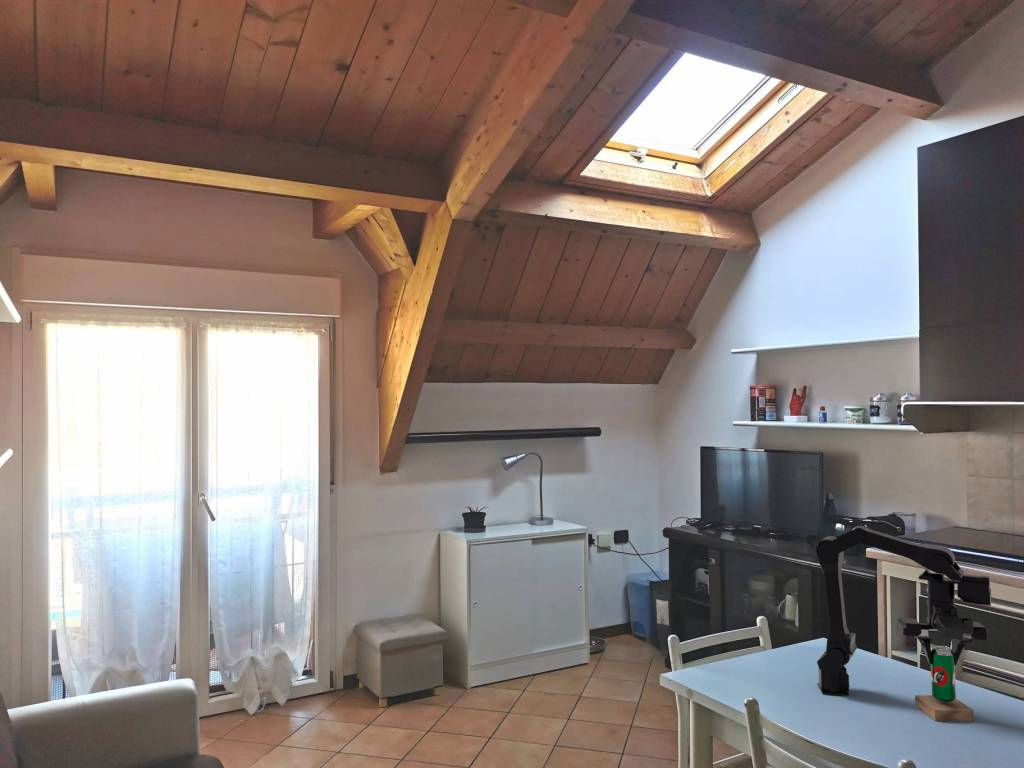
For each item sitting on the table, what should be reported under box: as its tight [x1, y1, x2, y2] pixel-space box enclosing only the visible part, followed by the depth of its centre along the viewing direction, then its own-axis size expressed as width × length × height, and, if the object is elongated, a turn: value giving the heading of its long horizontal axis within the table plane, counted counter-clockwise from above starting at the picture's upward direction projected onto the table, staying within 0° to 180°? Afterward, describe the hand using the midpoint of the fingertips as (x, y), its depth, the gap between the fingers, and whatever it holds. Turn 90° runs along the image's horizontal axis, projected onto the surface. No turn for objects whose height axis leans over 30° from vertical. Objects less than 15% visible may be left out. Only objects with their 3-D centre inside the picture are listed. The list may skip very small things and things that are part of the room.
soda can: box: [930, 645, 957, 702], centre depth 180 cm, size 5×5×12 cm
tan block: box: [914, 694, 975, 722], centre depth 180 cm, size 9×9×2 cm
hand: (942, 664), depth 180 cm, fingers closed on soda can, 5 cm apart
